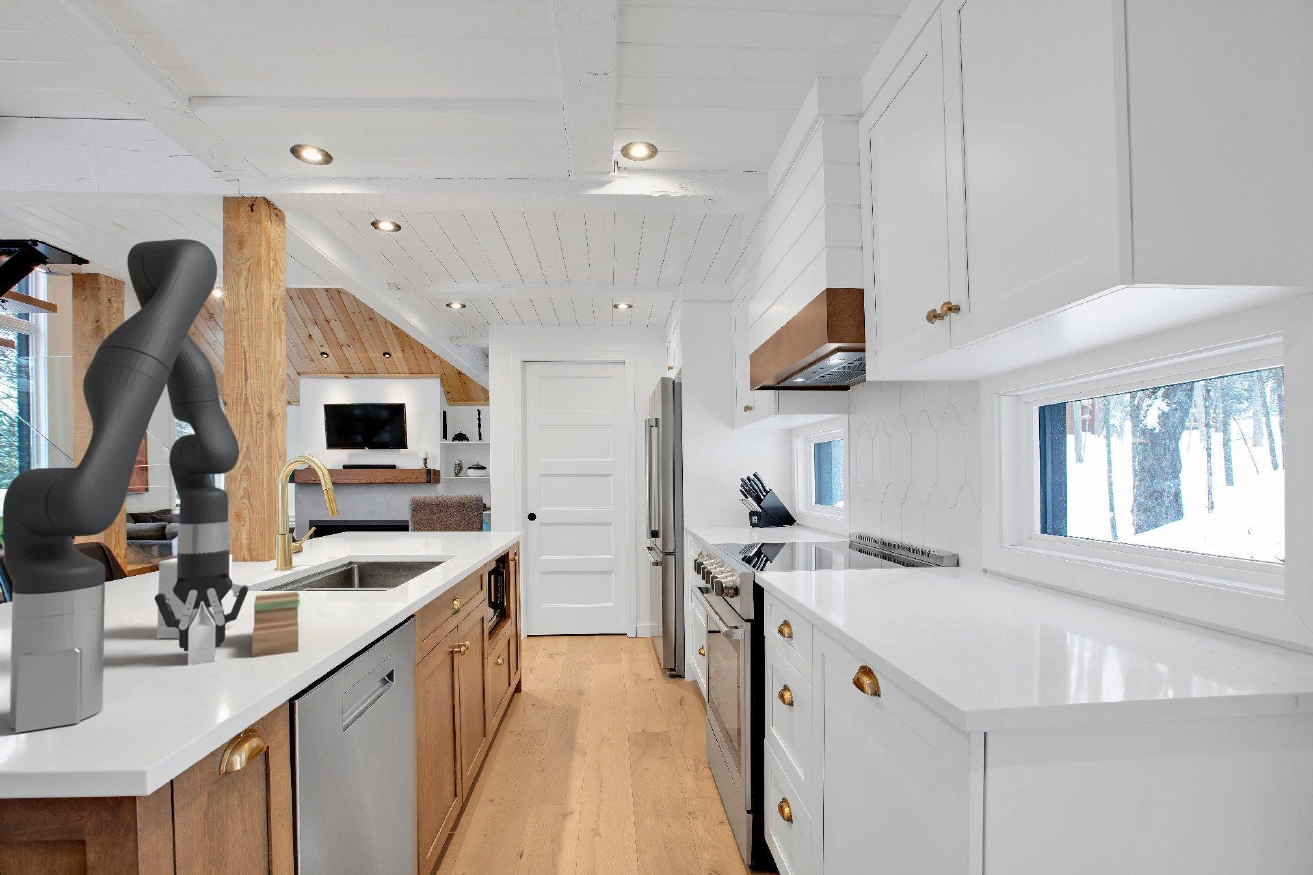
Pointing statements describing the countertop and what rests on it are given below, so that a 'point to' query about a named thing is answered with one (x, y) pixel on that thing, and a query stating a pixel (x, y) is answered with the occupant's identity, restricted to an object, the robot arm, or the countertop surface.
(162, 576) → the supplement box
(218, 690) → the countertop surface
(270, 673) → the countertop surface
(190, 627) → the white milk carton
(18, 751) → the countertop surface
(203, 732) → the countertop surface
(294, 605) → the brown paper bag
